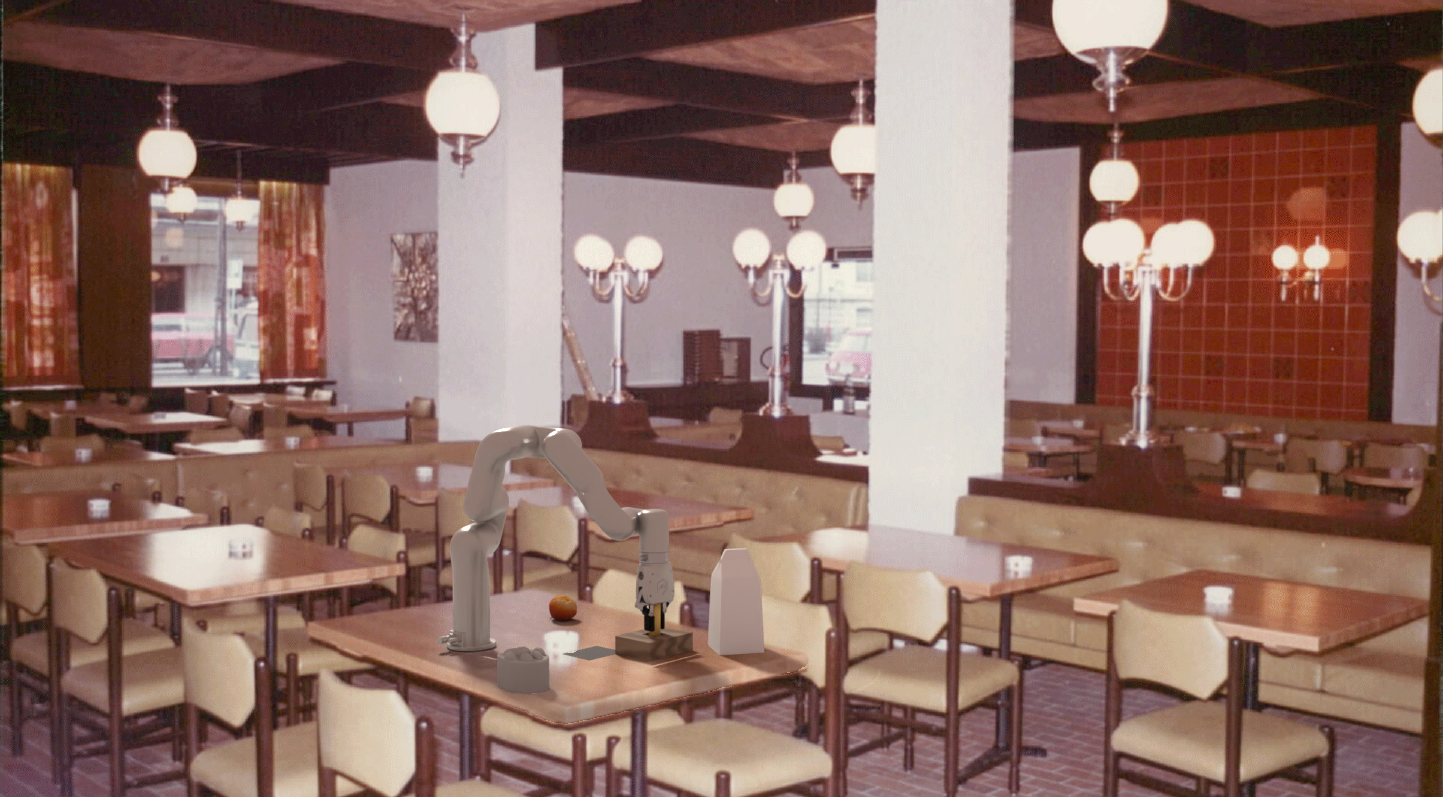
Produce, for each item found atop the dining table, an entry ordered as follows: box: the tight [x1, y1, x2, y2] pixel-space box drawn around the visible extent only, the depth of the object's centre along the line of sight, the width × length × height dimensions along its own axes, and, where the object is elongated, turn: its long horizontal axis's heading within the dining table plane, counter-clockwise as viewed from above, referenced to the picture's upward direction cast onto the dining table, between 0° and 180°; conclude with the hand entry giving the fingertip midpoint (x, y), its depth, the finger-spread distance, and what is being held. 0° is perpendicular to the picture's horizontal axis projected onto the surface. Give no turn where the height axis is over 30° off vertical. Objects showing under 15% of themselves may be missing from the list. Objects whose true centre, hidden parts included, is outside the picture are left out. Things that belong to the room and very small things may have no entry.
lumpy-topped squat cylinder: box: [496, 646, 550, 695], centre depth 301 cm, size 10×13×9 cm
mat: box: [563, 645, 616, 661], centre depth 333 cm, size 12×10×1 cm
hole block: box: [614, 626, 694, 663], centre depth 334 cm, size 16×12×5 cm
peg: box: [649, 603, 661, 637], centre depth 333 cm, size 3×3×10 cm
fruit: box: [548, 594, 578, 622], centre depth 374 cm, size 8×8×8 cm
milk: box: [707, 547, 766, 656], centre depth 339 cm, size 12×12×26 cm
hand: (654, 629), depth 333 cm, fingers closed on peg, 3 cm apart
